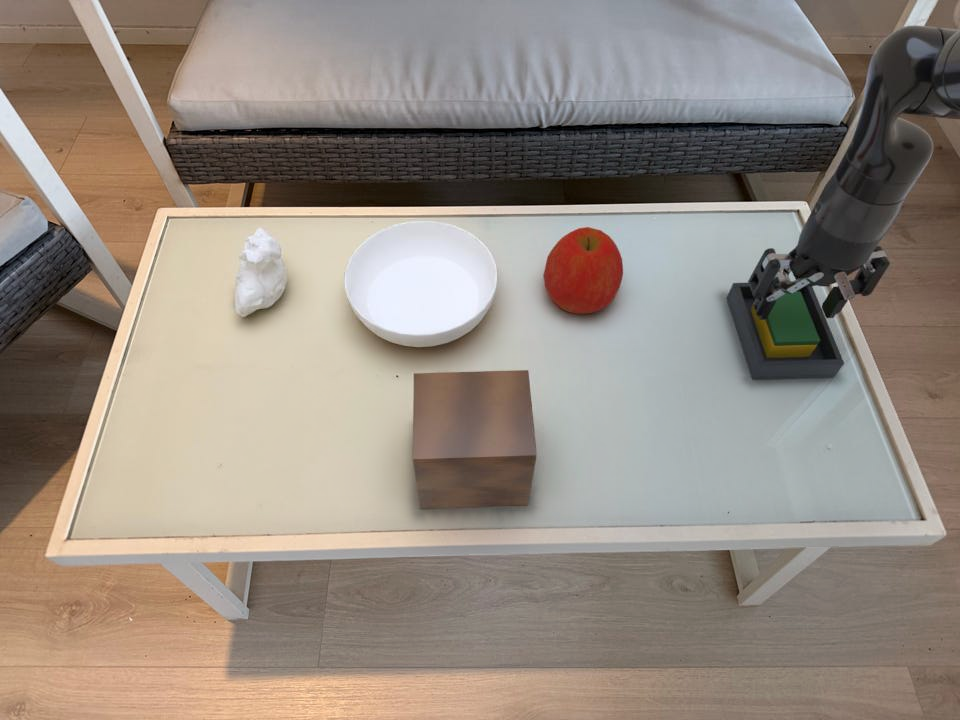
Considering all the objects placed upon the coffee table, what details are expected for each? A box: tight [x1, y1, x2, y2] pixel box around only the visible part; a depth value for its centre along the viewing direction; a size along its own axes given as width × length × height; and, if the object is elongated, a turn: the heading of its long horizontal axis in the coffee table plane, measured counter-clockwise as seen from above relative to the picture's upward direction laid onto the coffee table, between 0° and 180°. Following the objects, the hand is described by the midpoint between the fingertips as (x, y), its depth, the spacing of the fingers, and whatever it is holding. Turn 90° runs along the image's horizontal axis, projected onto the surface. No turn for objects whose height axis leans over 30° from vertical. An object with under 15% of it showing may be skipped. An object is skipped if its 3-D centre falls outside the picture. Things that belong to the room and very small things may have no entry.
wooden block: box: [412, 369, 538, 510], centre depth 75 cm, size 12×10×12 cm
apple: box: [542, 226, 624, 315], centre depth 91 cm, size 10×10×10 cm
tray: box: [726, 281, 845, 381], centre depth 90 cm, size 13×10×3 cm
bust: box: [234, 227, 288, 318], centre depth 91 cm, size 12×8×11 cm
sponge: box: [750, 292, 820, 358], centre depth 89 cm, size 8×6×4 cm
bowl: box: [343, 220, 499, 348], centre depth 91 cm, size 20×20×6 cm
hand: (793, 313), depth 87 cm, fingers open, 8 cm apart
